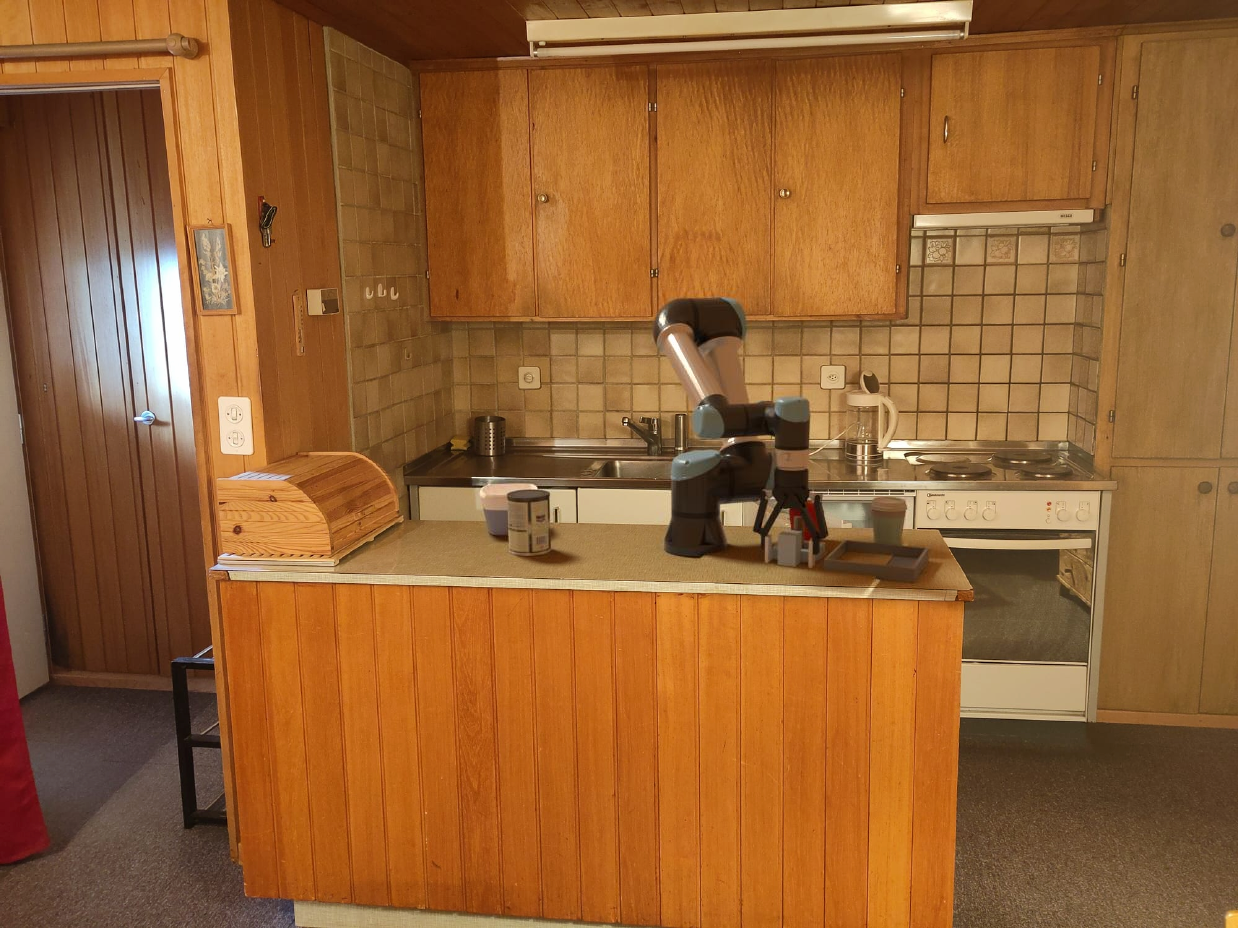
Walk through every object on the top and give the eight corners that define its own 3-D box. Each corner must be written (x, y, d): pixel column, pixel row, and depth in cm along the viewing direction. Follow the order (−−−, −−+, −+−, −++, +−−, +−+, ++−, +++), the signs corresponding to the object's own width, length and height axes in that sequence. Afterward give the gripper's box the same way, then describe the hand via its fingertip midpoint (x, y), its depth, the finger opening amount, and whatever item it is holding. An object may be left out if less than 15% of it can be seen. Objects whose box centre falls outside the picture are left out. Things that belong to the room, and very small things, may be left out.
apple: (821, 549, 248) (822, 501, 246) (786, 547, 251) (787, 499, 249) (825, 541, 256) (826, 494, 254) (791, 539, 259) (791, 492, 257)
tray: (823, 573, 228) (823, 559, 227) (843, 552, 245) (844, 539, 245) (914, 582, 220) (914, 568, 219) (928, 560, 237) (929, 547, 237)
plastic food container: (481, 525, 277) (479, 484, 275) (539, 523, 278) (538, 482, 277) (479, 539, 262) (478, 495, 260) (541, 536, 263) (540, 493, 262)
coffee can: (521, 543, 256) (520, 487, 254) (558, 547, 252) (557, 490, 250) (500, 553, 247) (498, 495, 245) (538, 558, 243) (536, 499, 240)
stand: (768, 561, 237) (769, 520, 236) (782, 550, 247) (782, 510, 246) (815, 567, 233) (816, 524, 231) (827, 555, 243) (828, 514, 241)
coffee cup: (907, 554, 243) (908, 504, 241) (869, 552, 245) (871, 502, 243) (904, 545, 251) (906, 496, 249) (868, 543, 253) (869, 495, 251)
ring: (764, 563, 233) (765, 533, 232) (783, 548, 246) (784, 519, 245) (808, 568, 229) (809, 537, 228) (825, 552, 242) (825, 523, 241)
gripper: (738, 466, 231) (737, 564, 234) (836, 473, 222) (834, 575, 225) (749, 461, 237) (747, 557, 241) (845, 467, 228) (842, 566, 232)
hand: (789, 565), depth 233 cm, fingers open, 9 cm apart
